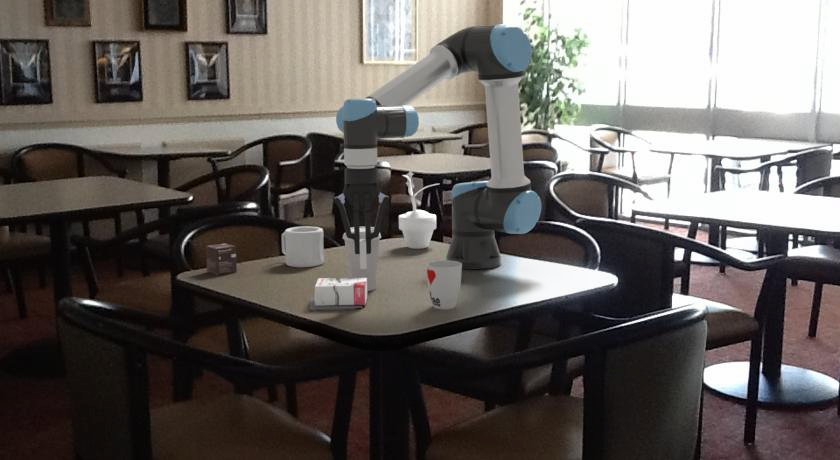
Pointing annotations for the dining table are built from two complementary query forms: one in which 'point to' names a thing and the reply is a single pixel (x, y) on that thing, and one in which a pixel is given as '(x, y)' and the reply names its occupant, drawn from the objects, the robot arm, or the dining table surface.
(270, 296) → the dining table surface
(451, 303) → the cup
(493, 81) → the robot arm
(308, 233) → the mug
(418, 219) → the potted plant
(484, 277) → the dining table surface
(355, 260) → the coffee cup
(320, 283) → the ink box
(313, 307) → the mat
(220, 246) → the box
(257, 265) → the dining table surface
